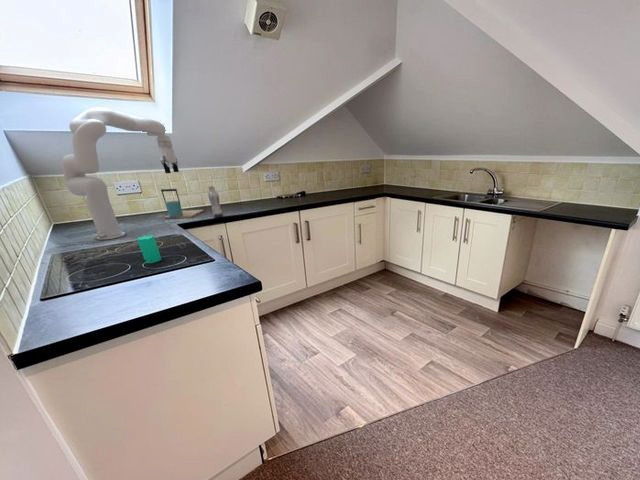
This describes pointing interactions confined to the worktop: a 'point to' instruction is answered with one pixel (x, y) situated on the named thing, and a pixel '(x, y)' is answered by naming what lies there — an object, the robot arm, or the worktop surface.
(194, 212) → the board
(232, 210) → the worktop surface
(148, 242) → the candle
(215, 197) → the plastic bottle
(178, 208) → the bucket
